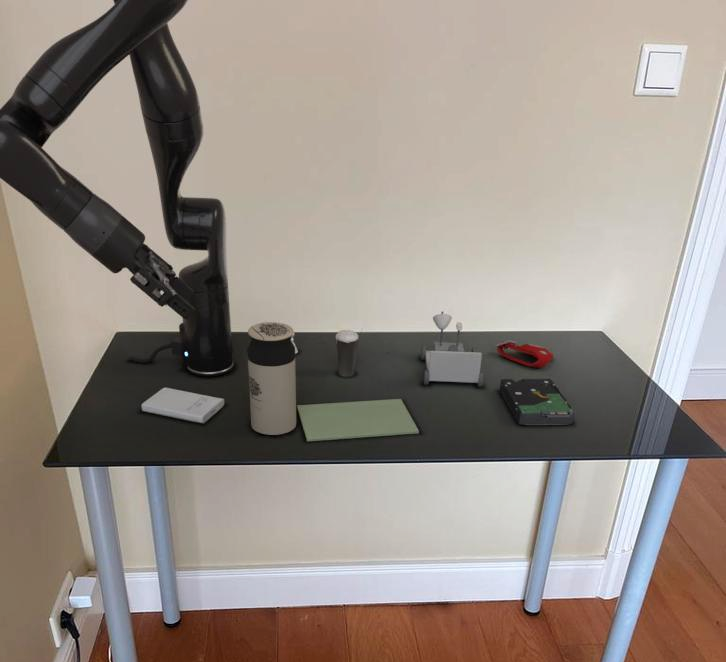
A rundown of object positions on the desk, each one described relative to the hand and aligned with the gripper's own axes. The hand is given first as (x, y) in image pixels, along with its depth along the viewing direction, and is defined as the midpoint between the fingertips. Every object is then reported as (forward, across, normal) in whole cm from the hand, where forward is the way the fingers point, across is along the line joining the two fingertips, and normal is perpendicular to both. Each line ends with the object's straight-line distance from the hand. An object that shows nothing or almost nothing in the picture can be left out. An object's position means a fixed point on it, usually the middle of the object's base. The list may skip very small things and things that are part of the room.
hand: (190, 305), depth 121 cm
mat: (+35, 0, -4) cm, 36 cm away
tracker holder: (+65, +22, -33) cm, 77 cm away
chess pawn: (+30, +33, +2) cm, 45 cm away
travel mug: (+25, 0, +7) cm, 26 cm away
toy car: (+52, +19, -20) cm, 59 cm away
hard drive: (+14, +9, +18) cm, 25 cm away
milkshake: (+37, +20, -5) cm, 43 cm away
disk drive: (+60, 0, -28) cm, 66 cm away
